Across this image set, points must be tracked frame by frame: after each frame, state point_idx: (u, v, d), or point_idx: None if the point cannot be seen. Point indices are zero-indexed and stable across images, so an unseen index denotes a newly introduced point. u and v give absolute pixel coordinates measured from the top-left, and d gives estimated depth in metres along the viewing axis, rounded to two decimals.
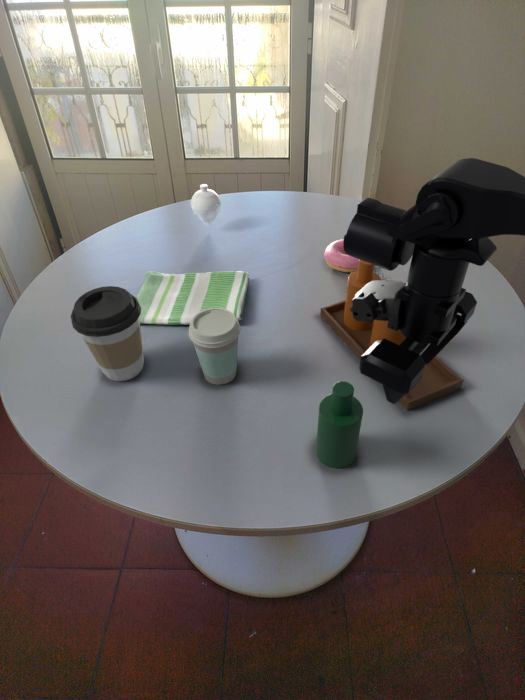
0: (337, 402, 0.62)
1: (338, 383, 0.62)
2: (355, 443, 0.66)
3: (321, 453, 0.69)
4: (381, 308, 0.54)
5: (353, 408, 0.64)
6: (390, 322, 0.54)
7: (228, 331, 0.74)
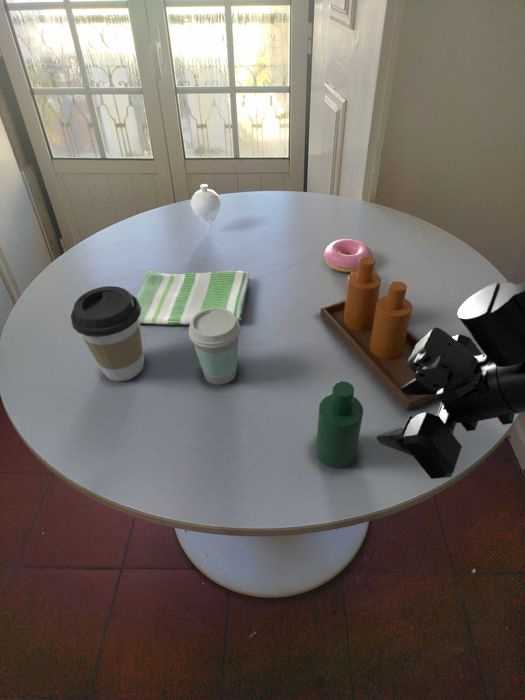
0: (337, 402, 0.62)
1: (338, 383, 0.62)
2: (355, 443, 0.66)
3: (321, 453, 0.69)
4: (450, 384, 0.48)
5: (353, 408, 0.64)
6: (444, 395, 0.50)
7: (228, 331, 0.74)
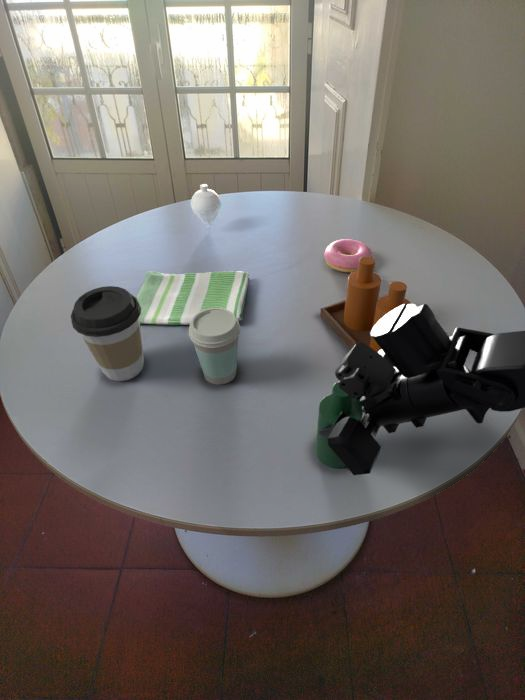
0: (337, 402, 0.62)
1: None
2: None
3: (321, 453, 0.69)
4: (369, 392, 0.55)
5: (353, 408, 0.64)
6: (366, 401, 0.57)
7: (228, 331, 0.74)
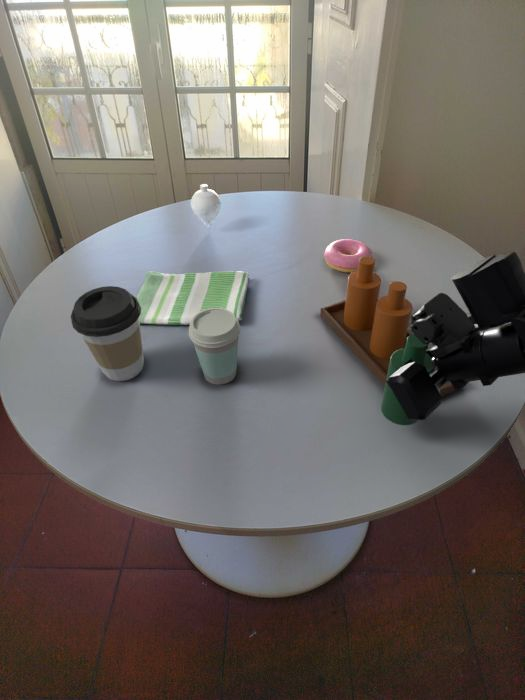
0: (409, 353, 0.62)
1: (414, 335, 0.63)
2: None
3: (385, 406, 0.69)
4: (440, 340, 0.55)
5: (425, 364, 0.64)
6: (436, 351, 0.57)
7: (228, 331, 0.74)
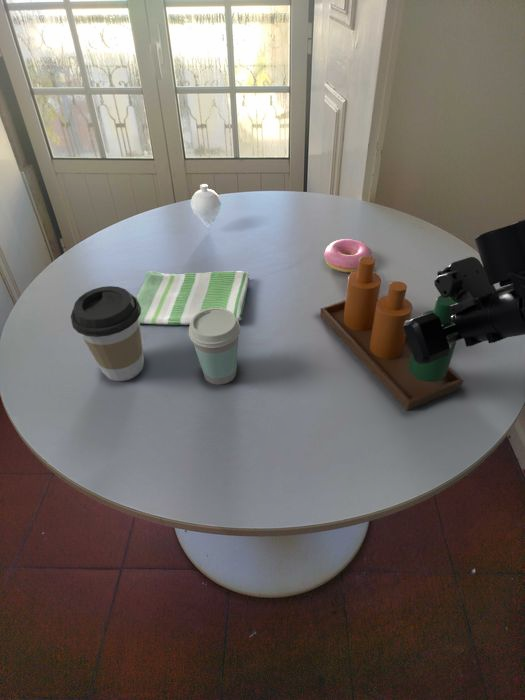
0: (436, 310, 0.68)
1: None
2: (442, 360, 0.72)
3: (411, 360, 0.76)
4: (458, 295, 0.61)
5: None
6: (454, 306, 0.63)
7: (228, 331, 0.74)
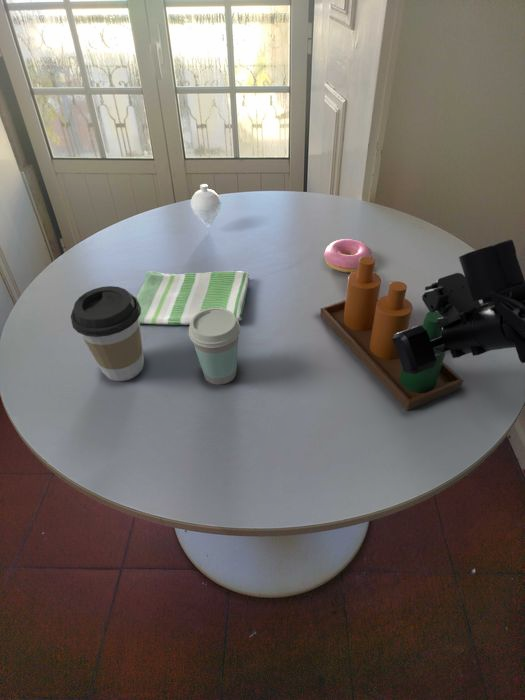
0: (425, 326, 0.72)
1: (433, 312, 0.72)
2: (431, 373, 0.75)
3: (402, 372, 0.79)
4: (444, 310, 0.64)
5: None
6: (441, 320, 0.66)
7: (228, 331, 0.74)
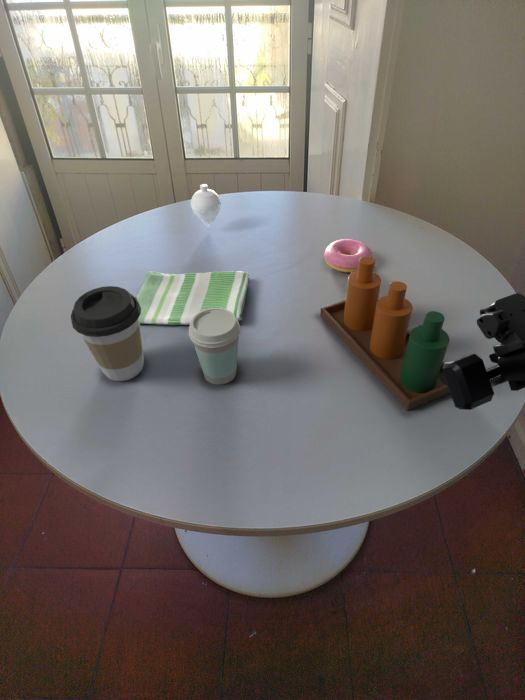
0: (425, 326, 0.72)
1: (433, 312, 0.72)
2: (431, 373, 0.75)
3: (402, 372, 0.79)
4: (503, 337, 0.56)
5: (440, 340, 0.73)
6: (498, 348, 0.57)
7: (228, 331, 0.74)
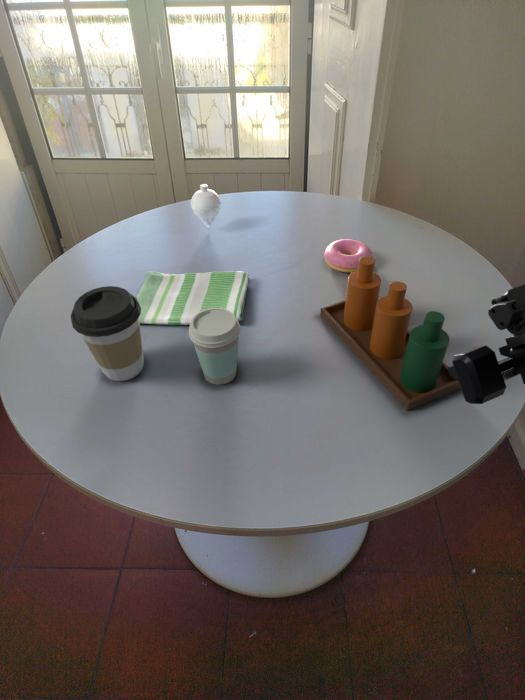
0: (425, 326, 0.72)
1: (433, 312, 0.72)
2: (431, 373, 0.75)
3: (402, 372, 0.79)
4: (517, 327, 0.54)
5: (440, 340, 0.73)
6: (511, 339, 0.55)
7: (228, 331, 0.74)
